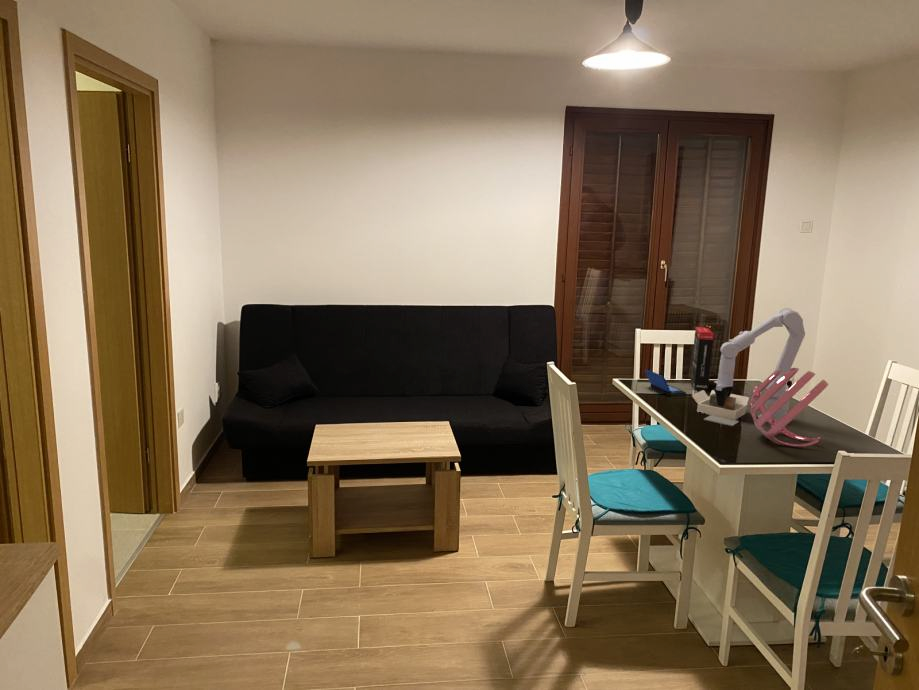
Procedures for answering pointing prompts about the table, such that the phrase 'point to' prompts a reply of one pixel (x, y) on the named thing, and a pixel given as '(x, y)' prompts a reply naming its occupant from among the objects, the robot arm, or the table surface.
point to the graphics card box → (701, 358)
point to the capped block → (727, 405)
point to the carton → (704, 407)
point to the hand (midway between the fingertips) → (722, 404)
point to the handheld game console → (662, 384)
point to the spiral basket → (768, 414)
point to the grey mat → (721, 420)
